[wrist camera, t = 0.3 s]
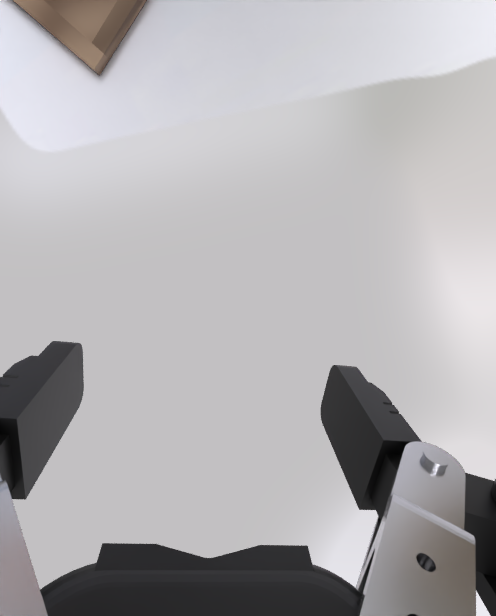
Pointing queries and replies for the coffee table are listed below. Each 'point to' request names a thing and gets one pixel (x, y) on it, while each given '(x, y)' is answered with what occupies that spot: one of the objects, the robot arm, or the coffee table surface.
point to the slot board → (86, 25)
